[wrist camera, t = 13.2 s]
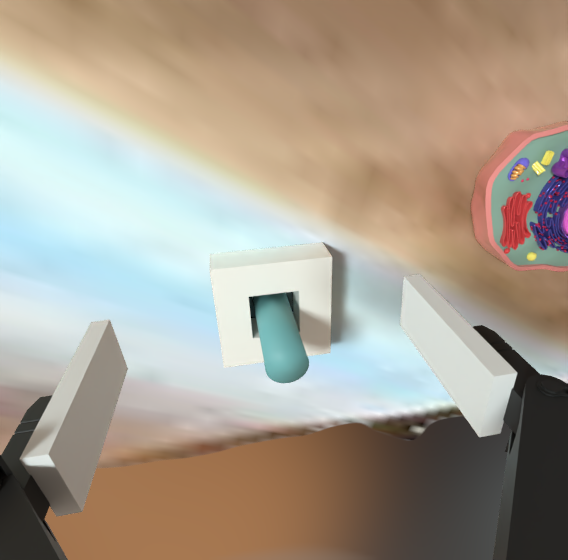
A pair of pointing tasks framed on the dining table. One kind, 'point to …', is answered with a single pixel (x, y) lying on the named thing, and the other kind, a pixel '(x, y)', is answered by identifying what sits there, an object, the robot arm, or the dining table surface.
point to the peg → (280, 338)
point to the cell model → (525, 200)
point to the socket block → (271, 280)
